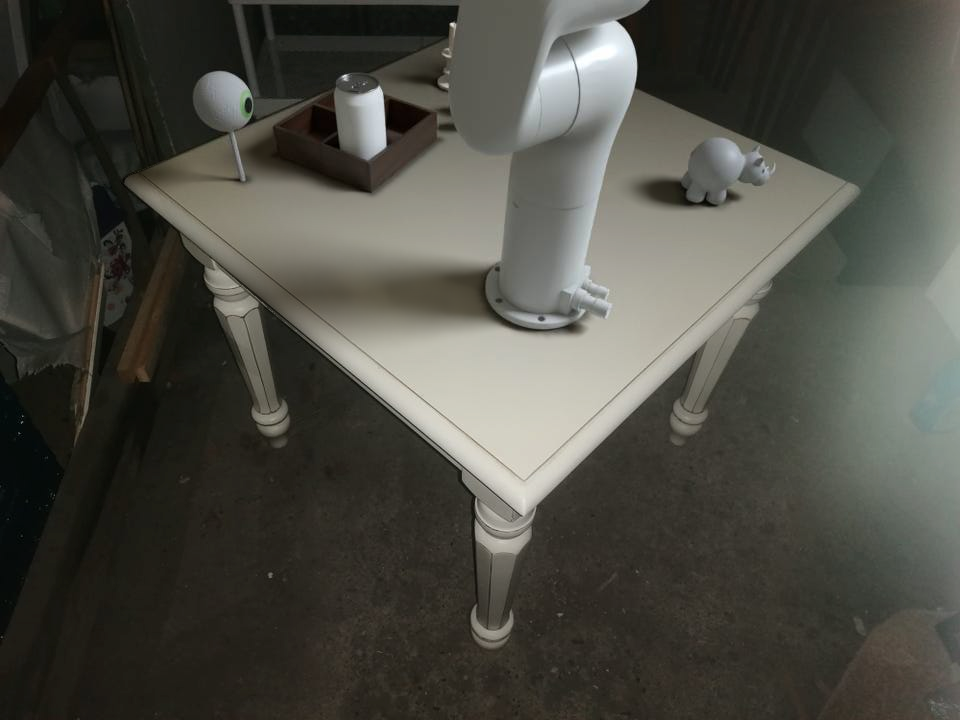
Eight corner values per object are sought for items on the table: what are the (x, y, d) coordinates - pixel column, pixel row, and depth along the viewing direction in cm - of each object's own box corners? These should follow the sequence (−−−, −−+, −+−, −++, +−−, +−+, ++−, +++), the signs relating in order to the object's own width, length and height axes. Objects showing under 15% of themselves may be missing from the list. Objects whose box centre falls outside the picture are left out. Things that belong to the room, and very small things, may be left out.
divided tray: (437, 139, 102) (437, 112, 99) (371, 192, 92) (369, 164, 89) (348, 107, 107) (346, 80, 104) (277, 154, 97) (272, 126, 94)
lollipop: (256, 198, 90) (230, 91, 79) (206, 190, 91) (174, 83, 79) (277, 170, 95) (256, 65, 83) (230, 162, 95) (202, 57, 84)
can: (392, 155, 97) (388, 74, 88) (380, 179, 93) (374, 97, 84) (349, 148, 98) (341, 68, 89) (335, 173, 94) (325, 90, 85)
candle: (472, 81, 115) (475, 18, 108) (461, 94, 112) (463, 30, 104) (444, 74, 116) (445, 11, 109) (432, 87, 113) (432, 23, 105)
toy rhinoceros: (767, 214, 94) (792, 161, 87) (682, 207, 94) (700, 153, 87) (756, 185, 98) (779, 132, 92) (675, 178, 98) (692, 125, 92)
